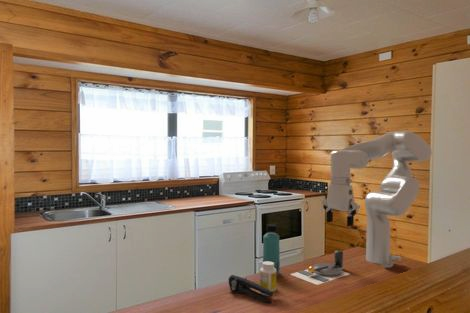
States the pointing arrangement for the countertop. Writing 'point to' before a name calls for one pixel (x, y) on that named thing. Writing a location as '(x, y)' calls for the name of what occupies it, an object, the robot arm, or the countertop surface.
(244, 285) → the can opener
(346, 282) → the countertop surface
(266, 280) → the supplement bottle
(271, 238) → the beverage bottle
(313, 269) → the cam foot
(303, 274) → the stand
